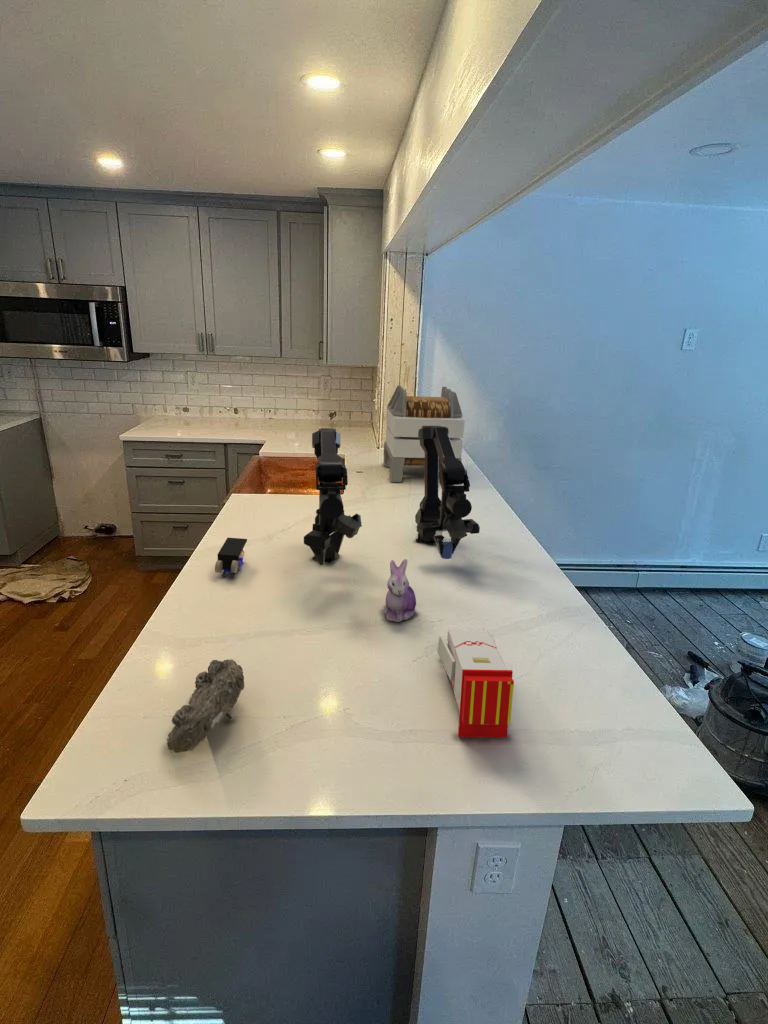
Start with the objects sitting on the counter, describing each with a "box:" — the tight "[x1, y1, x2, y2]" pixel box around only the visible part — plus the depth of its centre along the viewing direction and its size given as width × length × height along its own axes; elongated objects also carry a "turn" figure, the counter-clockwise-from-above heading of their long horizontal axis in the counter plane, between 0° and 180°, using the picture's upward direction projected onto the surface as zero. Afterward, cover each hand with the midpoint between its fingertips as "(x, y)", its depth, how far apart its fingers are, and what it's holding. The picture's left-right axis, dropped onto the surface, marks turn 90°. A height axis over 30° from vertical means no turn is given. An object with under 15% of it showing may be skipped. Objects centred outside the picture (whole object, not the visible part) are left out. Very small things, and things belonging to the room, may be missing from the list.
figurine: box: [384, 558, 417, 623], centre depth 145 cm, size 9×10×15 cm
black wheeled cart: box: [214, 537, 248, 578], centre depth 166 cm, size 7×8×15 cm
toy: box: [437, 628, 515, 738], centre depth 117 cm, size 12×13×30 cm
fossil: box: [166, 658, 245, 754], centre depth 106 cm, size 22×10×15 cm
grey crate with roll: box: [383, 384, 465, 483], centre depth 268 cm, size 34×33×41 cm
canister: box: [440, 540, 453, 560], centre depth 175 cm, size 4×4×4 cm
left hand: (329, 558), depth 157 cm, fingers open, 9 cm apart
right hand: (446, 553), depth 175 cm, fingers closed on canister, 3 cm apart
